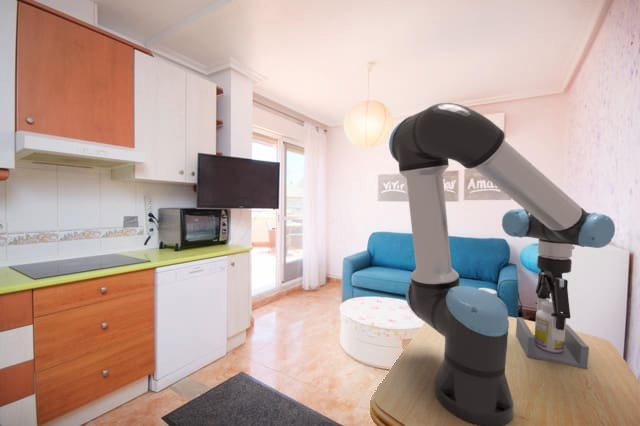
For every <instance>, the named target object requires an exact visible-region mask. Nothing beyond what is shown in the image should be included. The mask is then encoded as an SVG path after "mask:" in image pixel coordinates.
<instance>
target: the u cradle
mask: <svg viewBox="0 0 640 426" xmlns="http://www.w3.org/2000/svg"><path fill="white" fill-rule="evenodd" d="M515 326H516V328H515V335H516V338H517V340H518V341H519V343H520V345H521V347H522V350H523V352H524V354H525V356H526V357H527V358H531V359H536V360H541V361H545V362H550V363H555V364H556V363H557V364H560V365H561V364H562V365H565V366H571V367H576V368H581V369H586V370H587V369H588V366H589V365H588V364H589V353H590V352H589V351H590V347H589V346H588V344H586V342H585V341H584V340H583V339H582V338H581V337H580V336H579V335H578V333H576V331H575V330H574V329H572V327H571V326H570V325H569V324H566V327H565V340H564V349H563V351H562V352H560V353H554V352H549V351H545V350H543V349H541V348H539V347H538V346H536V344H535V334H534V333H532V331H531V329H530V327H529V326H528V324H527V323H526V321H525V319H524V318H523V317H519V316H517V317H516V325H515Z"/></svg>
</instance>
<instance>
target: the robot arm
mask: <svg viewBox="0 0 640 426" xmlns="http://www.w3.org/2000/svg"><path fill="white" fill-rule="evenodd" d="M392 130H393V131H392V132H391V134H390V135H389V136H390V137H389V143H388V146H389V147H388V148H389V151H390V154H391V156H392V158H393V159H394V160H395V161H396V162H397V163H398V170H399V172H398V173H399V174H401V175H402V176H403V177H404V178H405V179H406V185H407V186H406V187H407V194H408V195H407V196H408V203H409V205H408V206H409V214H410V224H411V233H412V243H413V252H414V253H413V254H414V262H415V269H414V270H413V271H412V272H411V274H410V281H409V284H408V285H407V287H406V290H405V300H406V303H407V305H408V307H409V309H410V310H411V311H412V312H413V313H414V314H415V316H416V317H417V318H418V319H421V321H422V322H424V323H426V324H427V325H429V327H431V328H432V329H434V331H436V332H438V334H440V335H442V336H443V337H444V355H443V356H444V357H443V360H442V362H441V365H440V367H439V370H438V371H437V373H436V376H435V379H434V394H435V396H436V399H437V400H438V402H440V404H441V405H442V406H443V407H444V408H445V409H446V410H447V411H449V412H450V413H451V414H453V415H455V416H456V417H458V418H460V419H462V420H464V421H467V422H470V423H472V424H476V425H478V426H479V425H480V426H503V425H506V424H507V423H509V422H510V421H511V420H512V418H513V414H514V400H513V397H512V393H511V390H510V387H509V383H508V380H507V377H506V362H507V351H508V350H507V349H508V340H509V339H508V338H509V337H508V336H509V329H510V328H509V327H510V326H509V325H510V323H509V322H510V321H509V311H508V307H507V305H506V303H505V302H504V301H503V300H502V299H501V298H500V297H499V296H498V295H497V296H495V295H494V294H492V293H490V292H487V291H485V290H479V288H477V287H473V286H467V285H460V274H459V273H458V271H456V270H455V269H454V268H453V267H452V261H451V260H452V258H451V249H450V240H449V239H450V237H449V229H448V228H449V227H448V226H449V225H448V217H447V207H446V196H445V187H444V186H445V185H444V173H445V171H446V170H447V169H448V168H449V167H450V165H449V159H450V160H452V161H455V162H457V163H459V164H460V165H461V166H463V167H464V168H466V169H468V170H471V169H475V171H477V172H478V173H480V174H481V175H482V176H483V177H485V179H487V180H488V181H490V183H492V184H493V185H495V187H496V188H498V189H499V190H500V191H502V192H503V193H505V195H507V196H508V197H509V198H510V199H512V200H513V201H514V202H515V203H517V204H518V205H519V206H520V207H521V208H516V209H510V210H508V211H507V212H505V213H504V215H503V216H502V220H501V227H502V230H503V232H504V233H505V234H506V235H508V236H510V237H513V238H523V237H524V238H530V239H531V238H533V239H538V246H537V254H539V255H538V256H537V262H536V263H537V264H536V267H537V269H539V270H540V271H539V272H540V273H539V277H538V281H537V286H536V289H535V293H536V294H537V295H536V296H537V303H536V307H537V308H536V312H537V311H538V310H541V309H542V308H541V302H543V301H547V302H550V300H551V302H552V304H553V310H554V313H552V314H551V316H552V329H551V339H552V340H558V341H564V340H565V327H566V325H567V324H566V323H567V319H571V311H570V310H571V309H570V301H569V300H570V299H569V291H568V283H569V281H568V279H565V278H563V274H569V273H571V272H572V263H573V262H572V259H571V258H572V256H573V250H575V246H579V247H582V248H584V247H585V248H594V249H595V248H596V249H601V248H604V247H606V246H608V245H609V244H610V243H611V241H612V239H613V238H614V237H615V232H616V226H615V222H614V220H613V218H611V217H610V216H608V215H606V214H603V213H597V212H592V213H591V212H587V211H586V210H585V209H584V208H582V207H581V205H579V204H578V203H577V202H576V201H575V200H574V199H572V198H571V197H570V196H569V195H568V194H567V193H566V192H564V191H563V190H562V189H561V188H560V187H558V186H557V185H556V184H555V183H554V182H553V181H552V180H550V178H548V177H547V176H546V175H545V174H544V173H543V172H542V171H540V170H539V169H538V168H537V167H536V166H535V165H533V164H532V163H531V162H530V161H529V160H528V159H527V158H525V157H524V156H523V155H522V154H521V153H520V152H519V151H517V150H516V149H515V148H514V147H513V146H511V144H509V143H508V142H507V141H506V133H505V132H504V130H502V129H501V128H500V127H499V126H498V125H496V124H495V123H494V122H493V121H492V120H490V119H489V118H487V117H486V116H484V115H483V114H481V113H480V112H478V111H475V110H474V109H472V108H469V107H467V106H466V105H465V106H464V105H462V104H459V103H454V102H439V103H437V104H433V105H431V106H429V107H428V108H426V109H424V110H421V111H420V112H417V113H415V114H413V115H411V116H408V117H405V118H404V119H403V120H402V121H401V122H400V123H398V124H397V125H396V126H395V127H394V129H392Z"/></svg>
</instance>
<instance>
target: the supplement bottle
mask: <svg viewBox="0 0 640 426" xmlns="http://www.w3.org/2000/svg"><path fill="white" fill-rule="evenodd" d="M541 308H542V309H541V310H538V311H537V310H536V313H535V327H534V335H535V344H536V346H538V347H539V348H541V349H543V350H545V351H549V352H554V353H560V352H562V351H563V349H564V341H558V340H552V339H551V329H552V316H551V314H552V313H554V310H553V304H552V301H549V302H547V301H543V302H541Z"/></svg>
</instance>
